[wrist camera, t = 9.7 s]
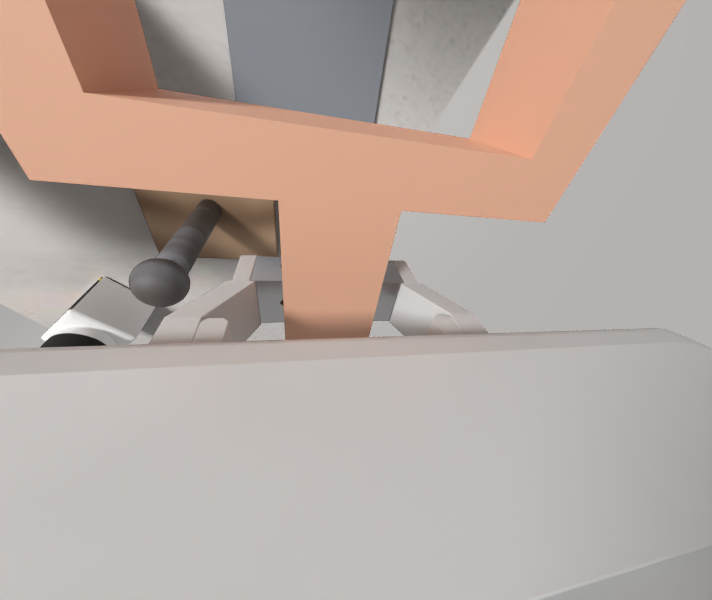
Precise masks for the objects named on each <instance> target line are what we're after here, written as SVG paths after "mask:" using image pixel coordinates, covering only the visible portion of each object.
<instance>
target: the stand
mask: <svg viewBox="0 0 712 600" xmlns="http://www.w3.org/2000/svg"><path fill="white" fill-rule="evenodd" d="M134 192H135V194H136V197H137V199H138V202H139V204H140V207H141V209H142V212H143V214H144V216H145V219H146V221H147V224H148V226H149V229H150V231H151V234H152V236H153V239H154V241H155V244H156V246H157V249H158V251H159V254H158V256H157V257H156V258H154V259H149V260H146V261H143V262H141V263H140V264H138V265H137V266H136V267H135V268H134V269H133V270H132V272H131V274H130V276H129V287H130V290H131V292H132V293H133V295H134V296H135V297H136V298H137V299H138V300H139V301H141V302H143V303H145V304H147V305H150V306H155V307H167V306H171V305H174V304H176V303H178V302H180V301H181V300H183V299H184V298H185V296H186V295H187V293H188V292H189V289H190V278H189V276H188V273H189V272H190V270H191V268H192V266H193V264H194V263H195V261H196V259H197V258H227V259H240V256H241V255H257V256H276V257H277V255H278V247H277V231H276V215H275V200H266V199H254V198H242V197H230V196H218V195H206V194H193V193H181V192H169V191H157V190H145V189H134Z"/></svg>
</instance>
